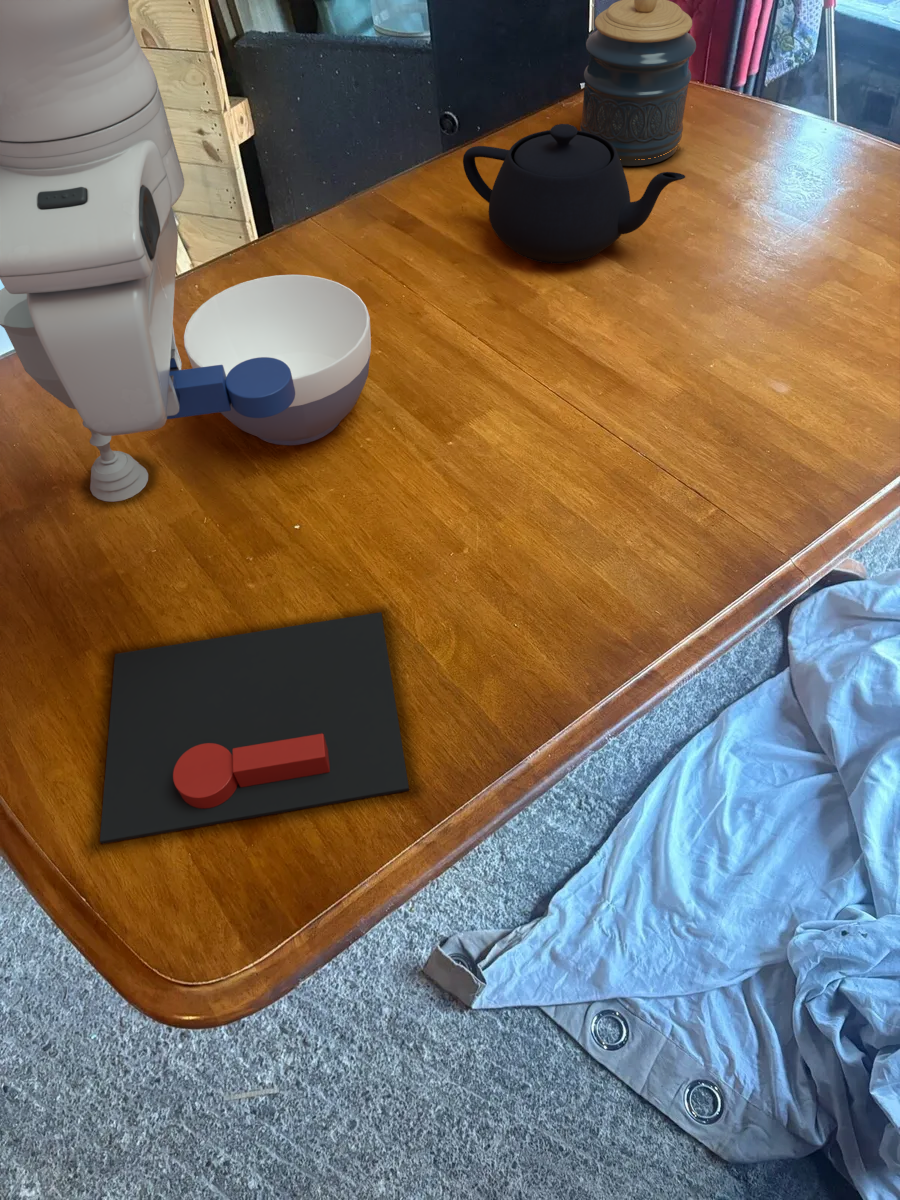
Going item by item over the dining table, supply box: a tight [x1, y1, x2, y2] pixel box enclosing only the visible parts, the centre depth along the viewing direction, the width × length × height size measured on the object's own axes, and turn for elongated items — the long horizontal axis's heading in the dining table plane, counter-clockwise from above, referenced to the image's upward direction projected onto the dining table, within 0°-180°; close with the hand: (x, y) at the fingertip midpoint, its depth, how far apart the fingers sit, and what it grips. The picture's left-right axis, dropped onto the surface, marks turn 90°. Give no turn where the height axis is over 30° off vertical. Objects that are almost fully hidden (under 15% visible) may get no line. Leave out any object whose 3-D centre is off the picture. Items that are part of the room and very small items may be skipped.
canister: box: [579, 0, 697, 167], centre depth 108 cm, size 13×13×18 cm
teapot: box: [462, 123, 686, 265], centre depth 96 cm, size 25×16×12 cm, turn 63°
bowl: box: [183, 274, 372, 446], centre depth 80 cm, size 16×16×10 cm
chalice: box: [0, 286, 149, 503], centre depth 72 cm, size 7×7×18 cm
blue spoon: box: [167, 357, 295, 420], centre depth 54 cm, size 10×4×2 cm, turn 99°
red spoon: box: [173, 734, 330, 808], centre depth 59 cm, size 10×4×2 cm, turn 100°
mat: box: [99, 611, 410, 845], centre depth 62 cm, size 20×15×1 cm
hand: (167, 392), depth 54 cm, fingers closed on blue spoon, 2 cm apart
